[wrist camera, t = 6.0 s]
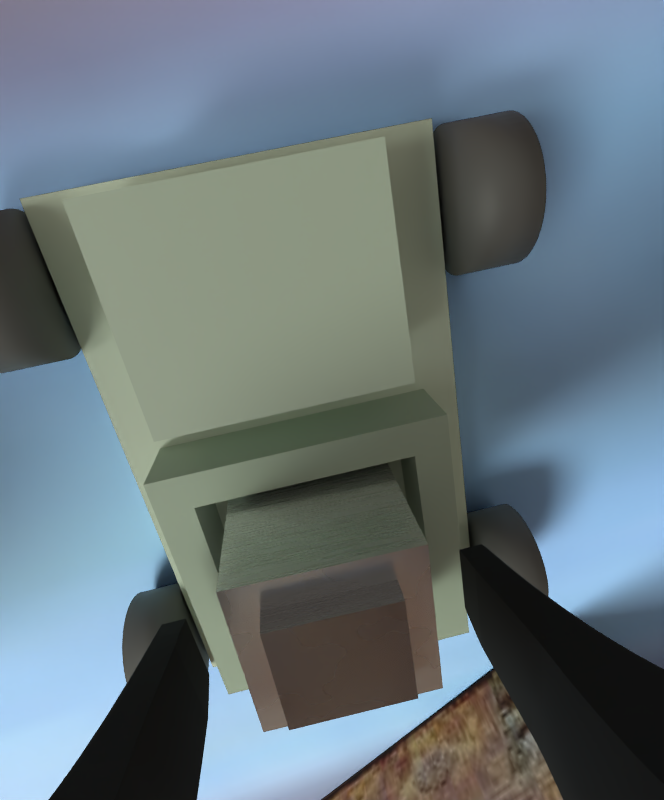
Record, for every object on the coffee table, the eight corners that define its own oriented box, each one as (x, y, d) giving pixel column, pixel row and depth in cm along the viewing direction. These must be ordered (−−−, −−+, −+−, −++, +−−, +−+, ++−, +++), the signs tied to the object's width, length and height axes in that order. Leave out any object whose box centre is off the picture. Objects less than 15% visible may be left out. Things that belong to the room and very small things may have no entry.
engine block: (264, 581, 16) (263, 758, 11) (232, 469, 14) (212, 615, 9) (392, 553, 16) (451, 711, 11) (375, 439, 14) (437, 564, 9)
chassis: (174, 643, 18) (147, 769, 14) (-18, 214, 12) (-168, 210, 8) (498, 562, 19) (564, 659, 15) (472, 117, 13) (572, 68, 9)
